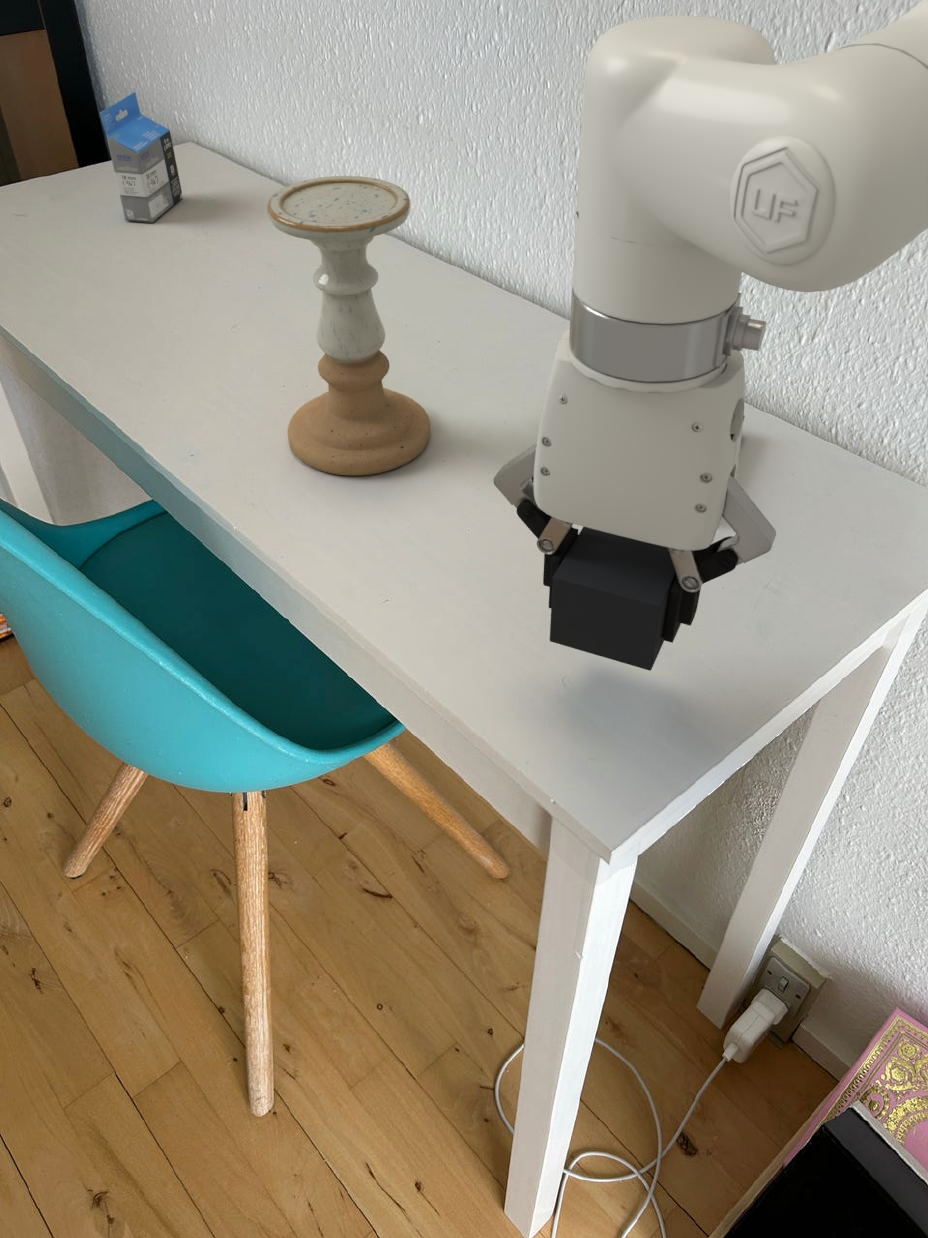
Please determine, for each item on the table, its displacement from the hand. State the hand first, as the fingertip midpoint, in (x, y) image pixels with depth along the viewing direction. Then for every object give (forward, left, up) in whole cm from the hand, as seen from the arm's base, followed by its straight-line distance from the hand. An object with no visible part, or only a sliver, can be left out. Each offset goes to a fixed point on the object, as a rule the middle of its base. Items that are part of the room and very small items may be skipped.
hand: (617, 608), depth 58 cm
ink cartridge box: (+78, -55, -8) cm, 96 cm away
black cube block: (0, 0, -1) cm, 1 cm away
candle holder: (+29, -20, -8) cm, 36 cm away
